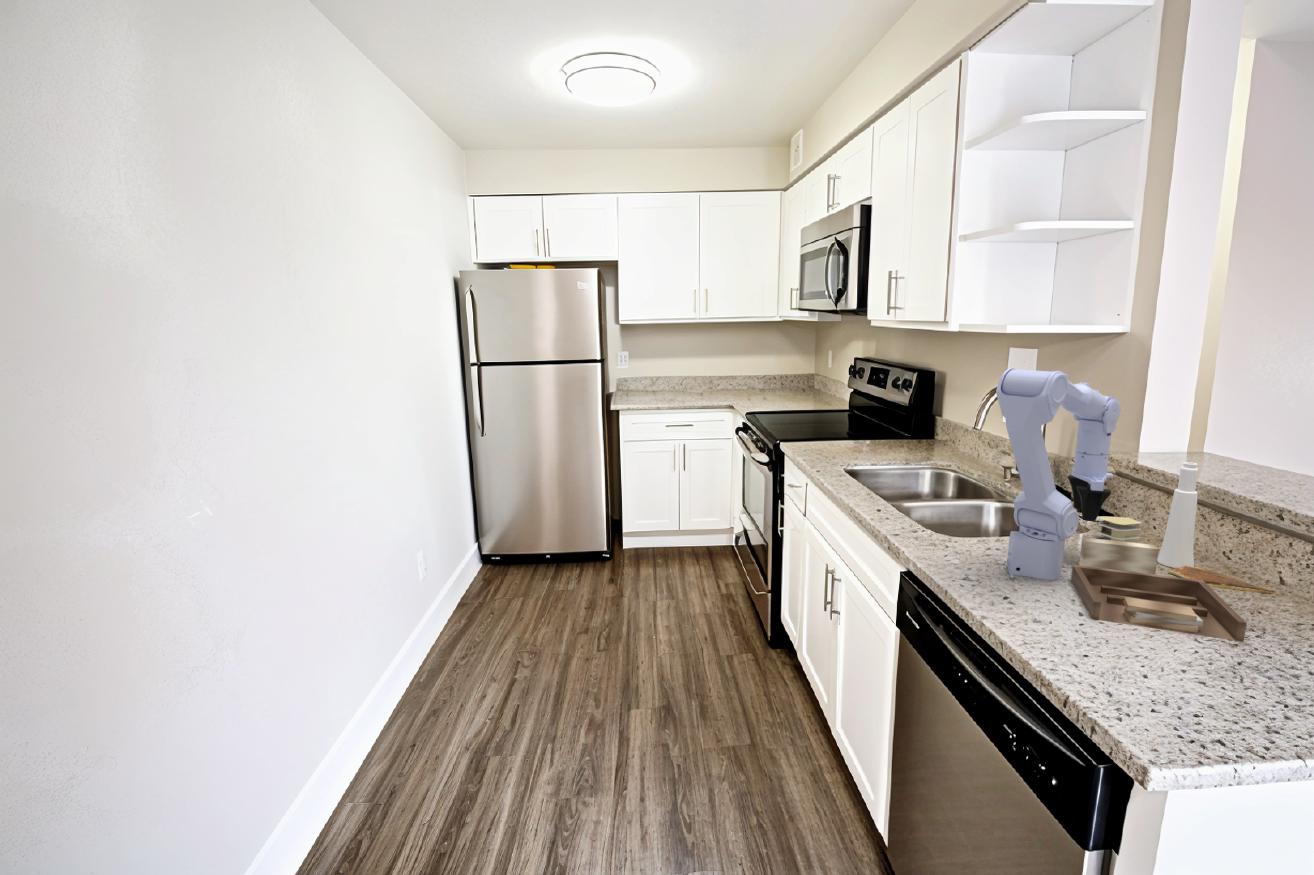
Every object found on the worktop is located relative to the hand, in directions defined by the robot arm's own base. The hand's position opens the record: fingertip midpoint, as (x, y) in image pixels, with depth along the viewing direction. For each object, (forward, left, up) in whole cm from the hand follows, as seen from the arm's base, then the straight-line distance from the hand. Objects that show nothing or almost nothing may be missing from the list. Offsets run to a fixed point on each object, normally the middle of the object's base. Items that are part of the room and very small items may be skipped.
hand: (1084, 514), depth 128 cm
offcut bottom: (+6, -29, -10) cm, 31 cm away
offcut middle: (+6, -29, -9) cm, 30 cm away
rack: (+6, -23, -10) cm, 26 cm away
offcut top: (+5, -29, -8) cm, 30 cm away
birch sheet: (+5, -6, -11) cm, 13 cm away
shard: (+21, -3, -11) cm, 24 cm away
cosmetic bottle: (+18, +5, -11) cm, 21 cm away
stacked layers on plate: (+10, +16, -11) cm, 22 cm away
